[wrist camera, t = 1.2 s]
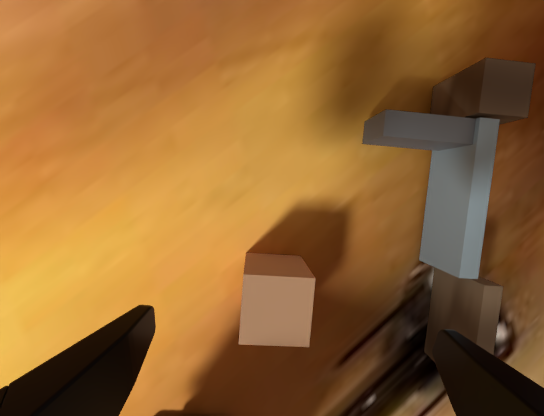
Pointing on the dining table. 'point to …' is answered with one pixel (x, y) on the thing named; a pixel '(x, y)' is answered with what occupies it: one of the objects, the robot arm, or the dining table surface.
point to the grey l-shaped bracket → (447, 181)
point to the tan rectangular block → (276, 301)
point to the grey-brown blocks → (507, 107)
